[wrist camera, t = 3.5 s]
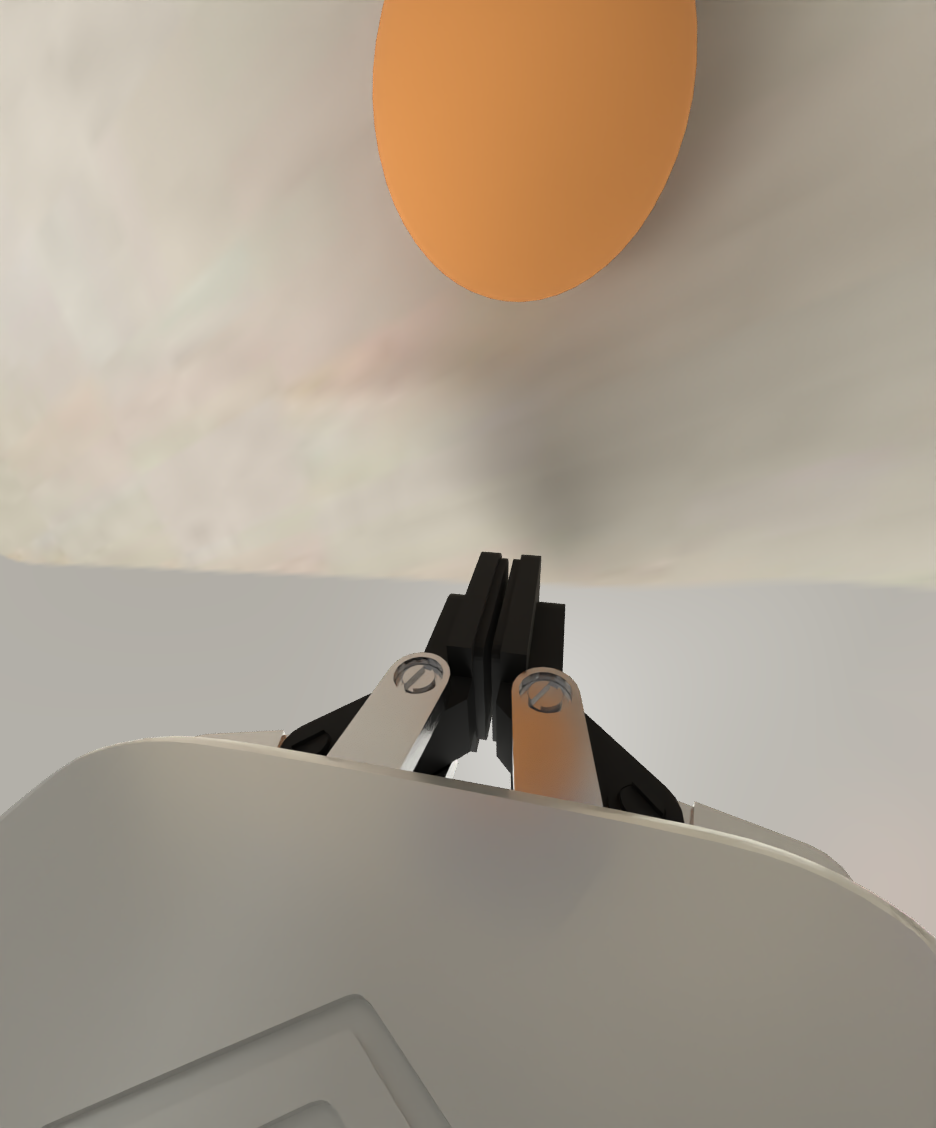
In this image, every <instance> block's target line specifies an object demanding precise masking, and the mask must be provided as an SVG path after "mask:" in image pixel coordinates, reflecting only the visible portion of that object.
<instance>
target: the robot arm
mask: <svg viewBox="0 0 936 1128" xmlns="http://www.w3.org/2000/svg"><path fill="white" fill-rule="evenodd" d="M540 572H541V556H534V555H521V559H520V560H519V559H514V560H513V564H512V568H511V572H510V576H509V580H508V559H505V558H502V555H501V553H492V552H481V555H480V557H479V560H478V563H477V565H476V568H475V570H474V573H473V576H472V578H471V581H470V584H469V586H468V589H467V592H466V594H465V595H460V594H450V595H449V597H448V598H447V601H446V603H445V605H444V608H443V610H442V612H441V615H440V617H439V619H438V621H437V624H436V626H435V628H434V631H433V633H432V636H431V638H430V640H429V642H428V645H427V647H426V649H425V652H420V653H413V654H410V655H407V656H404V657H402V658H401V659H399V660H397V661H396V662H395V663H394V664H393V665H392V666H391V667H390V669H389V670H388V672H387V673H386V674H385V676H384V677H383V678H382V680H381V681H380V682H379V684H378V685H377V687H376V688H375V689H374V691H373V692H372V693H371V694H369V695H367V696H364V697H362V698H360V699H358V700H356V701H354V702H352V703H350V704H348V705H345V706H343V707H341V708H339V709H337V710H335V711H333V712H331V713H328V714H326V715H325V716H322V717H320V718H318V719H316V720H314V721H312V722H309V723H307V724H305V725H303V726H301V727H300V728H298V729H297V730H295V731H293V732H292V733H291V734H290V735H286V734H285V732H284V730H276V731H257V732H238V733H218V734H205V735H199V736H195V737H192V736H166V737H152V738H143V739H137V740H133V741H126V742H121V743H117V744H113V745H109V746H106V747H103V748H100V749H97V750H94V751H91V752H89V753H87V754H84V755H82V756H80V757H78V758H76V759H75V760H73V761H71V762H70V763H68V764H67V765H65V766H63V767H62V768H60V769H59V770H57V771H56V772H55V773H53V774H52V775H50V776H49V777H48V778H46V779H45V780H44V781H43V782H41V783H40V784H39V785H37V786H36V787H35V788H34V789H33V790H31V791H30V792H29V793H28V794H26V795H25V796H24V797H23V798H21V799H20V800H19V801H18V802H17V803H15V804H14V805H13V806H12V807H10V808H9V809H8V810H7V811H6V812H5V813H4V814H2V815H1V816H0V1128H936V937H935V936H934V935H933V934H931V933H930V932H929V931H928V930H927V929H925V928H924V927H923V926H922V925H921V924H919V923H918V922H917V921H916V920H914V919H913V918H912V917H910V916H909V915H907V914H906V913H904V912H903V911H901V910H900V909H898V908H897V907H896V906H894V905H893V904H891V903H889V902H888V901H886V900H885V899H883V898H881V897H880V896H878V895H876V894H875V893H873V892H872V891H870V890H868V889H866V888H865V887H863V886H861V885H859V884H857V883H855V882H854V881H853V880H852V879H851V878H850V876H849V875H848V874H847V872H846V871H845V870H844V869H843V867H841V866H840V865H839V864H838V863H837V862H836V861H834V860H833V859H832V858H831V857H830V856H828V855H827V854H826V853H824V852H822V851H820V850H818V849H816V848H815V847H813V846H811V845H808V844H806V843H803V842H801V841H798V840H796V839H793V838H790V837H788V836H785V835H782V834H779V833H777V832H774V831H772V830H769V829H766V828H764V827H761V826H759V825H756V824H753V823H751V822H748V821H745V820H743V819H740V818H737V817H735V816H732V815H729V814H726V813H724V812H721V811H719V810H716V809H713V808H711V807H708V806H706V805H703V804H700V803H697V802H694V804H693V806H690V805H687V804H685V803H682V802H680V801H677V800H676V798H675V797H674V796H673V794H672V793H671V792H670V791H669V790H668V789H667V788H666V786H665V785H663V784H662V783H661V782H660V781H659V780H658V779H657V778H656V777H655V776H653V775H652V774H651V773H650V772H649V771H648V770H647V769H646V768H645V767H644V766H643V765H641V764H640V763H639V762H638V761H637V760H636V759H635V758H634V757H633V756H632V755H630V754H629V753H628V752H627V751H626V750H625V749H624V748H623V747H622V746H621V745H619V744H618V743H617V742H616V741H615V740H614V739H613V738H612V737H611V736H610V735H608V734H607V733H606V732H605V731H604V730H603V729H602V728H601V727H600V726H599V725H597V724H596V723H595V722H594V721H593V720H592V719H591V718H589V716H587V714H585V713H584V709H583V704H582V699H581V695H580V691H579V688H578V686H577V684H576V683H575V682H574V680H572V678H571V677H570V676H568V675H566V674H565V673H563V672H562V671H563V669H562V668H563V647H564V621H565V604H557V603H546V602H539V590H540ZM491 717H492V727H493V729H492V730H493V741H496V743H497V745H496V746H497V757H498V758H499V759H500V761H501V762H502V763H503V764H504V766H505V767H506V768H507V770H508V771H509V772H510V789H504V788H499V787H493V786H488V785H483V784H477V783H472V782H466V781H461V780H455V779H453V776H454V774H455V772H456V768H457V764H458V758H460V757H462V756H463V755H465V754H466V753H468V752H470V751H472V752H477V747H478V743H479V739H483V740H486V739H487V737H488V732H489V727H490V722H491Z"/></svg>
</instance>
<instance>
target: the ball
mask: <svg viewBox="0 0 936 1128" xmlns="http://www.w3.org/2000/svg"><path fill="white" fill-rule="evenodd" d="M696 66H697V16H696V5H695V0H385V1H384V4H383V8H382V13H381V18H380V23H379V29H378V34H377V39H376V47H375V57H374V66H373V111H374V125H375V132H376V138H377V144H378V151H379V155H380V160H381V163H382V167H383V171H384V175H385V179H386V183H387V186H388V188H389V191H390V194H391V197H392V199H393V202H394V205H395V207H396V209H397V211H398V213H399V215H400V217H401V219H402V221H403V223H404V225H405V227H406V228H407V230H408V231H409V233H410V235H411V236H412V238H413V239H414V241H415V242H416V244H417V245H418V246H419V248H420V249H421V250H422V251H423V253H424V254H425V255H426V256H427V258H428V259H429V260H430V261H431V262H432V263H433V264H434V265H435V266H436V267H437V268H438V269H439V270H440V271H441V272H442V273H443V274H445V275H446V276H447V277H449V278H450V279H451V280H453V281H454V282H455V283H457V284H459V285H460V286H462V287H464V288H466V289H468V290H470V291H472V292H474V293H477V294H480V295H483V296H485V297H488V298H492V299H497V300H502V301H512V302H526V301H534V300H541V299H545V298H548V297H552V296H555V295H558V294H561V293H563V292H565V291H568V290H570V289H572V288H574V287H576V286H578V285H579V284H581V283H583V282H584V281H586V280H588V279H589V278H591V277H592V276H594V275H595V274H596V273H597V272H599V271H600V270H601V269H603V268H604V267H605V266H606V265H608V264H609V263H610V262H611V261H612V260H613V259H614V258H615V257H616V256H617V255H618V254H619V253H620V252H621V251H622V250H623V249H624V248H625V246H626V245H627V244H628V243H629V242H630V240H631V239H632V238H633V237H634V235H635V234H636V233H637V232H638V231H639V229H640V228H641V226H642V225H643V223H644V222H645V220H646V218H647V217H648V215H649V214H650V212H651V211H652V209H653V207H654V206H655V204H656V202H657V200H658V198H659V196H660V194H661V192H662V191H663V189H664V187H665V184H666V182H667V180H668V177H669V175H670V173H671V170H672V168H673V165H674V163H675V161H676V158H677V156H678V153H679V149H680V146H681V143H682V140H683V137H684V133H685V130H686V127H687V122H688V118H689V113H690V108H691V103H692V99H693V92H694V83H695V75H696Z"/></svg>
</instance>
